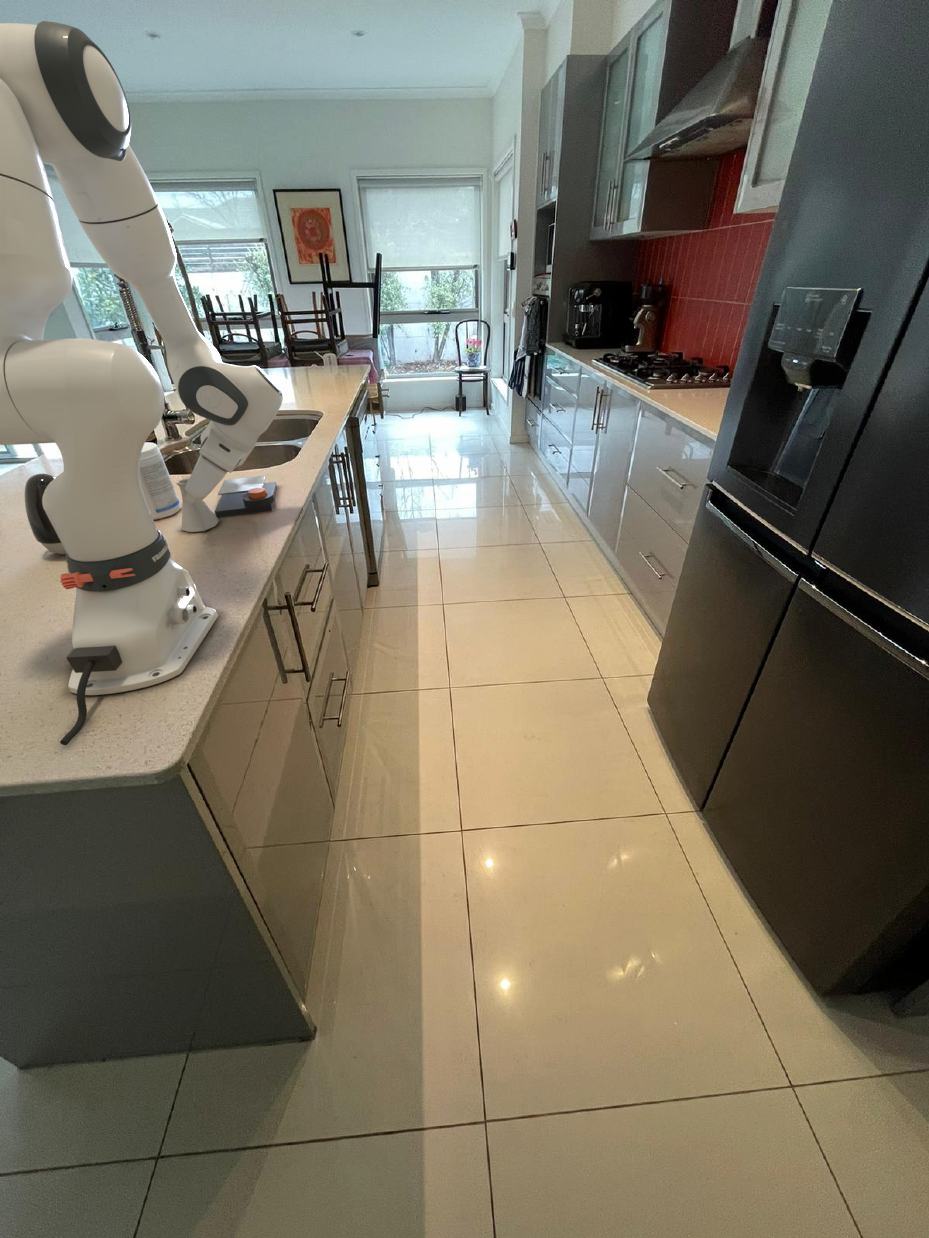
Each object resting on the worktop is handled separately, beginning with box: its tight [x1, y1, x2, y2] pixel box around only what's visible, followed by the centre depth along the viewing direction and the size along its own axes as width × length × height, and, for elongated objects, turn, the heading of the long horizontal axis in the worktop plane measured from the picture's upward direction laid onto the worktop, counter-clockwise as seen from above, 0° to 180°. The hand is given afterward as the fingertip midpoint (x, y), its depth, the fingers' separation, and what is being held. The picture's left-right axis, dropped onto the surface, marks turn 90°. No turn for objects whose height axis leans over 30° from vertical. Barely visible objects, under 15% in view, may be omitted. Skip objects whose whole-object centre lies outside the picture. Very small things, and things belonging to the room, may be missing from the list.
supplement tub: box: [139, 441, 182, 521], centre depth 113 cm, size 10×10×15 cm
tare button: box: [248, 488, 267, 499], centre depth 116 cm, size 4×4×2 cm
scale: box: [214, 481, 278, 518], centre depth 121 cm, size 16×13×3 cm
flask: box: [176, 477, 220, 533], centre depth 108 cm, size 7×7×10 cm
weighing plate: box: [217, 475, 266, 496], centre depth 122 cm, size 10×10×1 cm
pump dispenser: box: [24, 473, 67, 555], centre depth 99 cm, size 10×10×15 cm
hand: (190, 497), depth 107 cm, fingers closed on flask, 3 cm apart
